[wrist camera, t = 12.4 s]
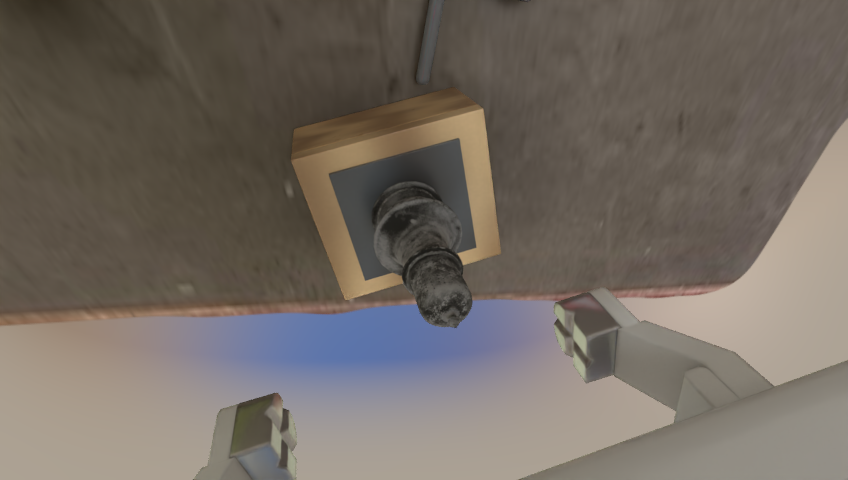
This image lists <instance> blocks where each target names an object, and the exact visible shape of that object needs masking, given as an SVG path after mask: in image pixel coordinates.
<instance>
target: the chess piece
mask: <svg viewBox="0 0 848 480" xmlns="http://www.w3.org/2000/svg"><path fill="white" fill-rule="evenodd" d="M372 224H373V228H374V230H375V234H374V250H375V253H376V257H377V258H378V260H379V261H380V263H381V264H382V265H383V266H384V267H385V268H386V269H387V270H389V271H390V272H392V273H395V274H397V275H399V276H402V281H403V284H404V286H405V288H406V289H407V290H408V291H409V292H410V293H411V294H413V295H414V296H415V299H416V302H417V305H418V308H419V311H420V313H421V315H422V316H423V318H424V319H425V320H426V321H427V322H428V323H429V324H432V325H435V326H439V327H449V326H450V327H454V328H456V327H457V326H458V325H459V323H460V322H461V321H462V320H464V319H465V317H466V316H467V315H468V313H469V311H470V309H471V307H472V296H471V292H470V290H469V288H468V286H467V285H466V283H465V281H464V279H463V277H462V274H463V263H462V261H461V259H460V257H459V255H458V254H457V251H458V249H459V246H460V244H461V239H462V227H461V223H460V221H459V218H458V216H457V214H456V213H455V212H454V211H453V210H452V209H451V208H450V207H449V206H448V205H446V204H444V203H443V201H442V199H441V197H440V195H439V194H438V193H437V192H436V191H435V190H434V189H433V188H432V187H430V186H429V185H427V184H425V183H421V182H417V181H405V182H401V183H397V184H395V185H393V186H391V187H389V188H387V189H386V190H385V191H384V192H383V193H382V194H381V195H380V196H379V197H378V199H377V200H376V202H375V204H374V207H373V210H372Z"/></svg>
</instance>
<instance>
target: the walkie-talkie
mask: <svg viewBox="0 0 848 480" xmlns="http://www.w3.org/2000/svg"><path fill="white" fill-rule="evenodd" d="M520 1H525V2H529V1H530V0H520ZM443 5H444V0H429V6H428V12H427V17H426V23H425V29H424V35H423V41H422V46H421V52H420V58H419V64H418V70H417V76H416V80H417V82H418V84H420V85H426V84H427V83H428V82H429V80H430V75H431V69H432V64H433V59H434V53H435V48H436V43H437V37H438V32H439V27H440V21H441V16H442V11H443Z"/></svg>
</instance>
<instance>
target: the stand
mask: <svg viewBox="0 0 848 480" xmlns="http://www.w3.org/2000/svg"><path fill="white" fill-rule="evenodd" d="M291 163H292V165H293V168H294V170H295V173H296V175H297V178H298V181H299V183H300V186H301V188H302V191H303V193H304V196H305V199H306V201H307V204H308V206H309V209H310V211H311V214H312V217H313V219H314V222H315V224H316V227H317V229H318V232H319V235H320V237H321V240H322V242H323V245H324V247H325V250H326V253H327V255H328V258H329V260H330V263H331V265H332V268H333V271H334V273H335V276H336V278H337V281H338V283H339V286H340V289H341V291H342V294H343V296H344V299H345V300H349V299H352V298H356V297H359V296H362V295H366V294H369V293H372V292H376V291H379V290H382V289H385V288H389V287H392V286H395V285H399V284H402V283H403V281H402V276H399V275H397V274H395V273H392V272H390V271H389V270H387V269H386V268H385V267H384V266H383V265H382V264H381V263H380V261H379V260H378V258H377V257H376V253H375V250H374V234H375V230H374V228H373V224H372V210H373V207H374V204H375V202H376V200H377V199H378V197H379V196H380V195H381V194H382V193H383V192H384V191H385V190H386V189H387V188H389V187H391V186H393V185H395V184H397V183H401V182H405V181H417V182H421V183H425V184H427V185H429V186H430V187H432V188H433V189H434V190H435V191H436V192H437V193H438V194H439V195H440V197H441V199H442V201H443V203H444V204H446V205H448V206H449V207H450V208H451V209H452V210H453V211H454V212H455V213H456V214H457V216H458V218H459V221H460V223H461V227H462V239H461V244H460V246H459V249H458V251H457V254H458V255H459V257H460V259H461V261H462V263H463V265H465V264H468V263H472V262H475V261H478V260H482V259H485V258H488V257H492V256H495V255H498V254H501V249H500V241H499V233H498V224H497V216H496V208H495V200H494V191H493V183H492V175H491V167H490V158H489V150H488V142H487V134H486V125H485V117H484V109H483V108H482V107H481V106H479V105H478V104H476V103H475V102H474V101H472V100H471V99H470V98H468V97H467V96H466V95H464V94H463V93H462V92H460V91H459V90H458V89H456V88H455V87H451V88H448V89H444V90H440V91H436V92H432V93H429V94H425V95H421V96H417V97H413V98H410V99H406V100H402V101H398V102H394V103H391V104H387V105H383V106H379V107H376V108H372V109H368V110H364V111H360V112H357V113H353V114H349V115H345V116H341V117H338V118H334V119H330V120H326V121H322V122H319V123H315V124H311V125H307V126H304V127H300V128H296V129H294V134H293V145H292V155H291Z"/></svg>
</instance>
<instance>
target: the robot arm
mask: <svg viewBox="0 0 848 480" xmlns="http://www.w3.org/2000/svg"><path fill="white" fill-rule="evenodd" d="M554 314H555V315H556V316H557V318H558V319H557V320H556V322H555V323H554V327H555V334H556V337H557V341H558V343H559V345H560V347H561V349H562V350H563V351H564V353H565V354H566V355H568V356H570V357H573V358H574V360H573V363H574V367H575V368H576V370H577V371H578V373H579V374H580V376H581V377H582V378H583V380H584V381H585V382H586V383H589V382H592V381H595V380H599V379H602V378H605V377H608V376H611V375H614V376H615V377H616V378H618V379H620V380H622V381H624V382H625V383H627V384H629V385H631V386H632V387H634V388H636V389H638V390H639V391H641V392H643V393H645V394H647V395H648V396H650V397H652V398H654V399H655V400H657V401H659V402H661V403H662V404H664V405H666V406H668V407H670V408H671V409H673V410H675V411H676V414H675V419H674V423H673V424H670V425H668V426H665V427H662V428H659V429H656V430H654V431H651V432H648V433H645V434H643V435H640V436H637V437H634V438H632V439H629V440H626V441H623V442H620V443H618V444H615V445H612V446H609V447H607V448H604V449H601V450H598V451H596V452H593V453H590V454H587V455H585V456H582V457H579V458H576V459H574V460H571V461H568V462H566V463H563V464H560V465H557V466H554V467H551V468H549V469H546V470H543V471H541V472H538V473H535V474H532V475H530V476H527V477H524V478H521V479H518V480H848V360H847V361H844V362H841V363H838V364H836V365H833V366H830V367H828V368H825V369H822V370H819V371H817V372H814V373H811V374H808V375H805V376H803V377H800V378H797V379H794V380H792V381H789V382H786V383H783V384H781V385H778V386H773V385H772V384H771V383H770V382H769V381H768V380H767V379H765V378H764V377H763V376H762V375H761V374H760V373H758V372H757V371H756V370H755V369H754V368H753V367H751V366H750V365H749V364H748V363H747V362H746V361H745V360H743V359H742V358H741V357H740V356H739V355H738V354H736V353H735V352H733V351H730V350H727V349H724V348H721V347H719V346H716V345H713V344H710V343H707V342H704V341H701V340H699V339H696V338H693V337H690V336H687V335H685V334H682V333H679V332H676V331H673V330H670V329H668V328H665V327H662V326H659V325H656V324H653V323H650V322H648V321H642V322H640V321H639V320H638V319H637V318H636V317H635V316H634V315H633V314H632V313H631V312H630V311H629V310H628V309H627V308H626V307H625V306H624V305H623V304H622V303H621V302H620V301H619V300H618V299H617V298H616V297H615V296H614V295H613V294H612V293H611V292H610V291H609V290H608V289H607V288H604V287H601V288H598V289H595V290H592V291H589V292H587V293H582V294H579V295H576V296H573V297H570V298H567V299H564V300H561V301H558V302H556V303H555V305H554ZM296 438H297V437H296V429H295V423H294V421H293V418H292V416H291V414H290V412H289V410H286V409H284V408H283V400H282V398H281V397H280V395H279V394H278V393H273V394H270V395H267V396H263V397H260V398H256V399H253V400H249V401H246V402H243V403H240V404H237V405H234V406H230V407H227V408H223V409H221V410H220V411H219V413H218V415H217V419H216V425H215V430H214V434H213V440H212V445H211V450H210V455H209V460H208V466H206V467H203V468H202V469H201V470H200V471H199V472H198V474H197V475H196V476H195V478H194V479H193V480H296V458H295V456H294V455H293V453H292V451H293V449H294V448H295V446H296V444H297V439H296Z"/></svg>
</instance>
